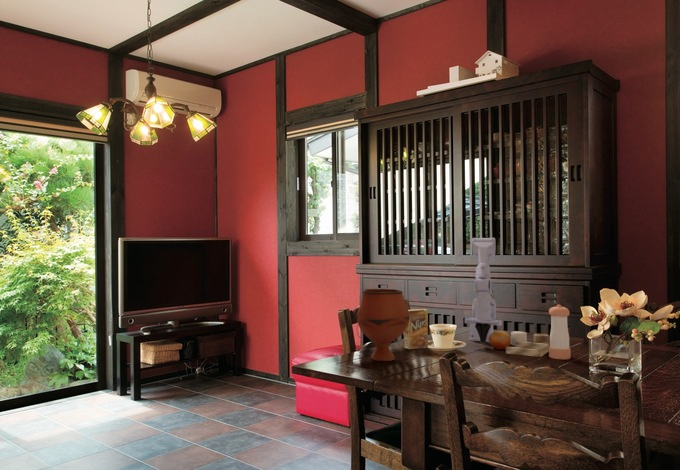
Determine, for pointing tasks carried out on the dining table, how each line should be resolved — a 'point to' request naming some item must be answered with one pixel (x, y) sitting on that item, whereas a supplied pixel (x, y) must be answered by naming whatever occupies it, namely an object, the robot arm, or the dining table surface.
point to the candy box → (416, 329)
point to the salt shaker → (559, 333)
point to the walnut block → (541, 338)
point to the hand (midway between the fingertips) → (483, 342)
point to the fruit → (499, 340)
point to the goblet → (383, 319)
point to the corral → (528, 349)
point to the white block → (518, 337)
